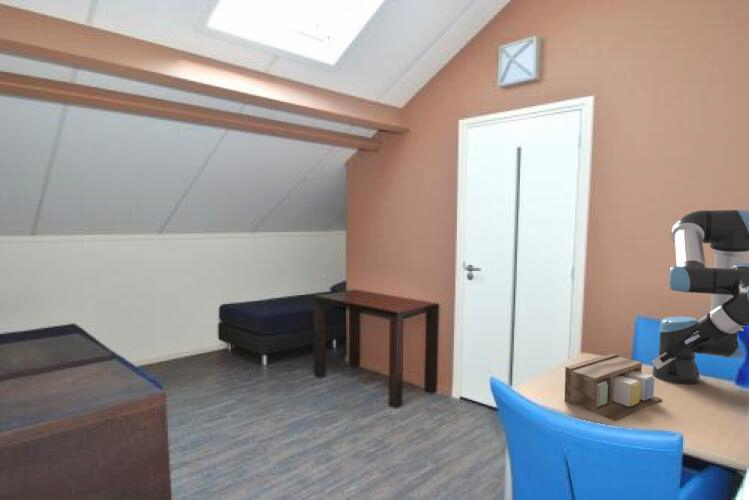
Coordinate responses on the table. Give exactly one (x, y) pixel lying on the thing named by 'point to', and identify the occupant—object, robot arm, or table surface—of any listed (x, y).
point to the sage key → (602, 392)
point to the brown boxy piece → (585, 381)
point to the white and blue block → (643, 383)
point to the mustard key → (625, 390)
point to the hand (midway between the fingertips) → (655, 364)
